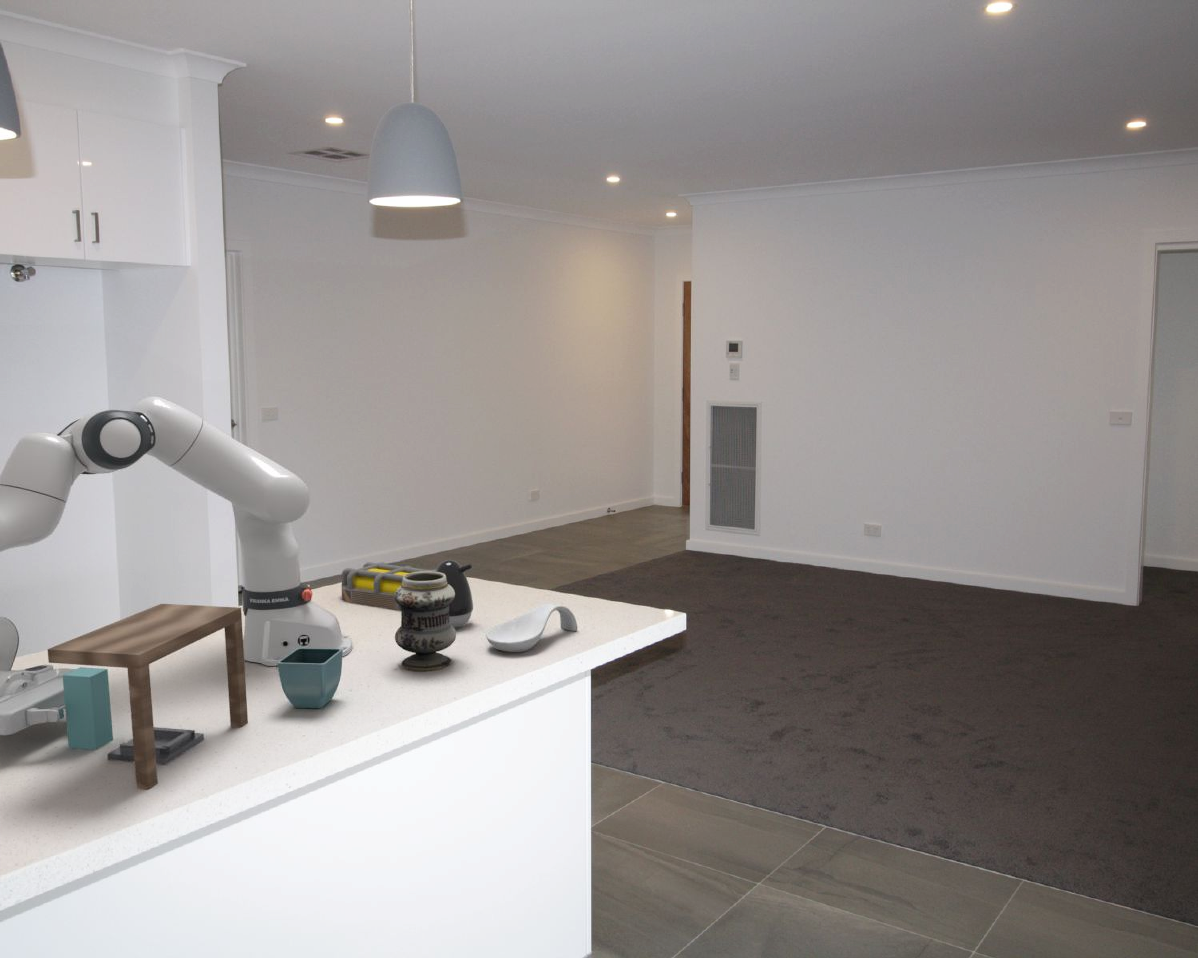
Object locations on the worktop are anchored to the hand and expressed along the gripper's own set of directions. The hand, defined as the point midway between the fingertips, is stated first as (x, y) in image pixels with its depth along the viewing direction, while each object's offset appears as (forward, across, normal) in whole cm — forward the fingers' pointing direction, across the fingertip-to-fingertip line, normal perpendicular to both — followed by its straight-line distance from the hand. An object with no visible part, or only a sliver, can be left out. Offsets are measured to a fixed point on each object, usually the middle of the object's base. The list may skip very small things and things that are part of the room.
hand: (82, 704), depth 161 cm
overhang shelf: (+13, 0, +6) cm, 15 cm away
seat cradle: (+13, 0, +6) cm, 15 cm away
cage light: (+12, +94, +7) cm, 95 cm away
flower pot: (+28, +23, +7) cm, 37 cm away
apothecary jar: (+39, +48, +7) cm, 63 cm away
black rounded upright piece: (+34, +75, +7) cm, 83 cm away
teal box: (+1, 0, +6) cm, 7 cm away
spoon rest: (+56, +67, +7) cm, 87 cm away
